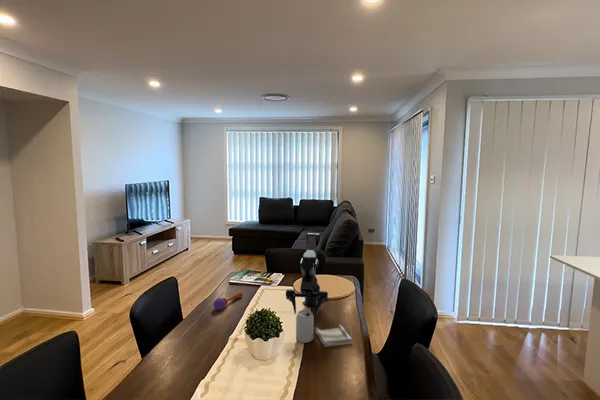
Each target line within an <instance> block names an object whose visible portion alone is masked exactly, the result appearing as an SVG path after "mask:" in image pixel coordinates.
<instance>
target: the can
mask: <svg viewBox="0 0 600 400" xmlns="http://www.w3.org/2000/svg"><path fill="white" fill-rule="evenodd" d="M295 317H296V319H295V320H296V321H295V322H296V323H295V339H296V340H297V341H298V342H300V343H303V344H308V343H310V342H312V341H313V340H314V324H315V323H314V321H315V320H314V319H315V317H314V314H313V311H311V310H308V309H302V310H298V312H297V313H296V316H295Z"/></svg>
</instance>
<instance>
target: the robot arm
mask: <svg viewBox="0 0 600 400" xmlns="http://www.w3.org/2000/svg"><path fill="white" fill-rule="evenodd" d="M304 239H305V242H306V251H305V252H304V253H303V256H302V257H301V260H300V269H301V276H302V277H301V283H300V288H299V289H300V292H296V289H293V288H292V289H288V288H287V289H286V291H285V298H286V300H288V301H289V302H290V303H291V304H292V306H293V307H292V308H293V312H294V313H293V314H294V315H297V302H296V301H297V300H296V298H304V301H302V304H303V305H304V306H305V307H307V308H312V307H313V308H314V307H316V309H315V316H318V313H319V311H320V308H321V306H322V305H323V304H325V303H326V302H329V301H328V300H329V298H328V297H329V293H328V291H327V290H326V291H325V290H321V287H320V284H319V281H318V279H317V277H316V268H318V266H319V260H318V258H317V250H318V248H319V247H320V245H321V244H320V243H321V242H322V235H321V234H320V233H318V232H308V233H305V238H304Z"/></svg>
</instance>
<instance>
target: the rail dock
mask: <svg viewBox="0 0 600 400" xmlns="http://www.w3.org/2000/svg"><path fill="white" fill-rule="evenodd" d="M315 334H316V335H317V337H318V338H319V341H320V342H321V343H322V345H323V347H324V348H328V347H334V346H335V347H336V346H343V345H349V344H352V342H353V340H352V339H353V338H352V337H351V335H350V334H349V333H348V332H347V331H346V329H345V328H344V327H343V325H342V324H341V323H340V324H338V327H333V328H326V329H319V327H317V326H316V327H315Z"/></svg>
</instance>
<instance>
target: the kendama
mask: <svg viewBox="0 0 600 400" xmlns="http://www.w3.org/2000/svg"><path fill="white" fill-rule="evenodd" d="M242 297H243V292H242V291H240V290H239V291H238V292H235V294H233V295H231V296H230V297H229V298H224V297H222V298H221V297H218V298H216V299H215V300H214V301H213V308H214V309H215V310H216V311H222V310H224V308H225V307H226V306H227V305H228V303H229V302H230V301H234V300H236V299H239V298H242Z"/></svg>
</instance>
